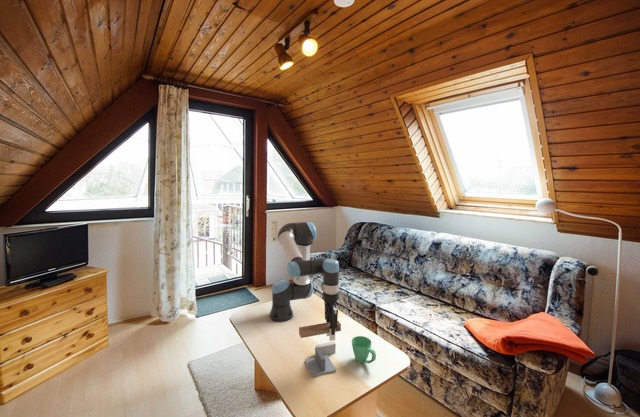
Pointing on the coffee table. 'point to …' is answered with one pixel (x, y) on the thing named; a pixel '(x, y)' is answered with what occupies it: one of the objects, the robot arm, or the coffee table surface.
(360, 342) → the mug
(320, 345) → the post
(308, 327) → the plank
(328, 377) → the coffee table surface
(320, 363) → the fulcrum
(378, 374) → the coffee table surface
